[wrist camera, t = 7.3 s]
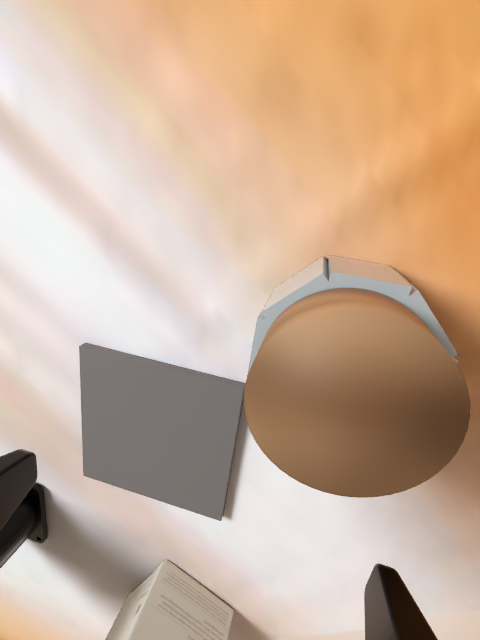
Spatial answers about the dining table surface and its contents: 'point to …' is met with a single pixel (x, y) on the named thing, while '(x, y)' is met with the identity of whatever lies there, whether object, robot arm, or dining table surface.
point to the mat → (158, 428)
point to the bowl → (347, 276)
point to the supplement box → (172, 610)
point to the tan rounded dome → (355, 395)
